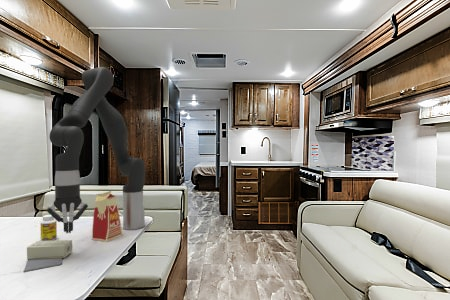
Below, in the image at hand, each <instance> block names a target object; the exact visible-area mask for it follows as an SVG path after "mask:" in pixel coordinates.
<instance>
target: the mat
mask: <svg viewBox="0 0 450 300" xmlns="http://www.w3.org/2000/svg"><path fill="white" fill-rule="evenodd" d="M62 263H63V258H47V259H26V264H25V266H24V269H23V273H27V272H32V271H37V270H42V269H47V268H53V267H58V266H62Z"/></svg>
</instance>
